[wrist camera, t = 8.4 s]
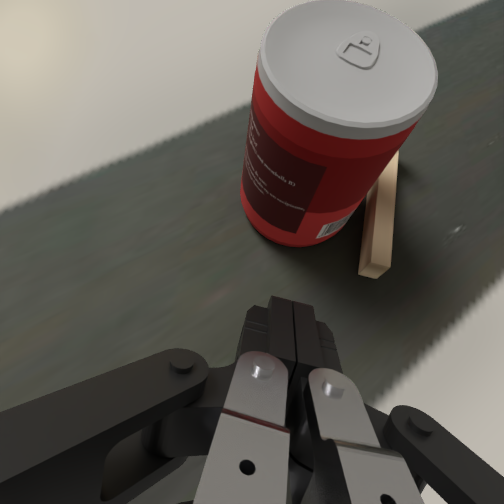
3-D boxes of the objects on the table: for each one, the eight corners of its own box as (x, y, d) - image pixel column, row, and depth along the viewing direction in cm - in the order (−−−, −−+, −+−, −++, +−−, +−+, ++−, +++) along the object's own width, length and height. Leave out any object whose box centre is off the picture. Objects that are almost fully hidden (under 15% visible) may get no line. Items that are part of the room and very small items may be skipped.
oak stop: (376, 279, 23) (402, 257, 20) (270, 251, 23) (280, 225, 20) (387, 152, 27) (410, 118, 24) (299, 129, 27) (310, 92, 24)
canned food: (356, 171, 26) (444, 23, 16) (338, 266, 23) (436, 152, 13) (256, 142, 27) (284, -22, 17) (224, 232, 23) (235, 94, 13)
